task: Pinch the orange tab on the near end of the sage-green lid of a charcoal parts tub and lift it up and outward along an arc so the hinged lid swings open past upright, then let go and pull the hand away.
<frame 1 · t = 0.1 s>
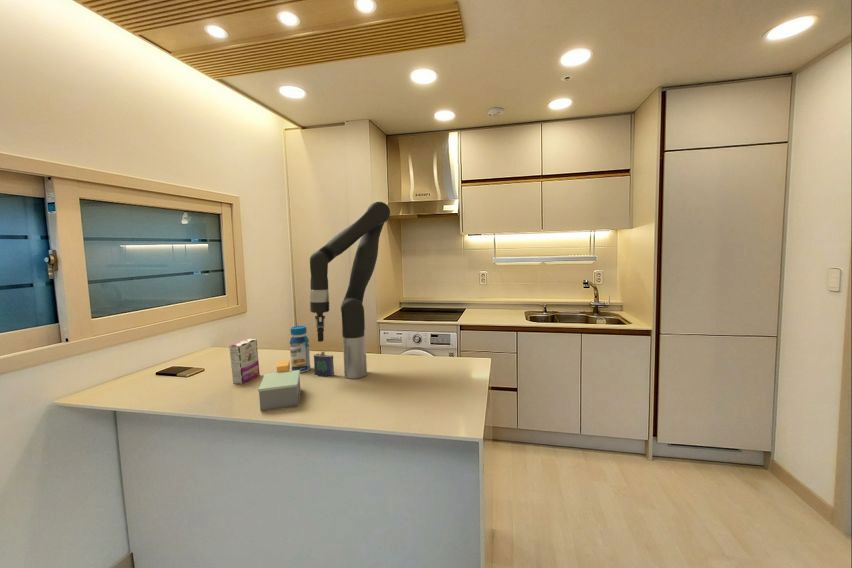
hand: (320, 339, 149), 17 cm above the table, tool pointing down, fingers open, 8 cm apart
candy bar box: (246, 379, 153), on the table
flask: (324, 375, 156), on the table
beverage bottle: (301, 370, 163), on the table
lid: (281, 375, 133), point 8 cm above the table, hinge at 0.0°
tub: (281, 400, 130), on the table
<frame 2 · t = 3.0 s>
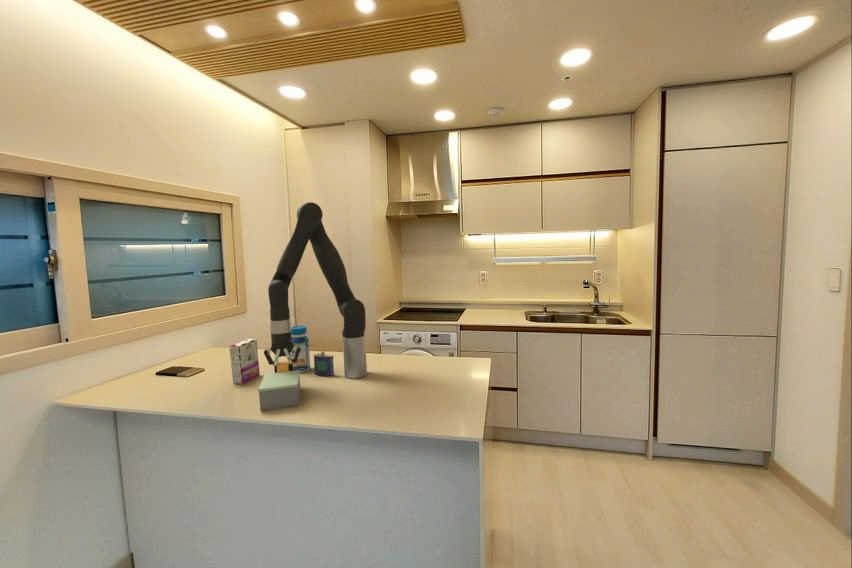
hand: (284, 373, 142), 6 cm above the table, tool pointing down, fingers closed on lid, 4 cm apart
lid: (281, 375, 133), point 8 cm above the table, hinge at 0.0°, touching gripper
everything else where it was.
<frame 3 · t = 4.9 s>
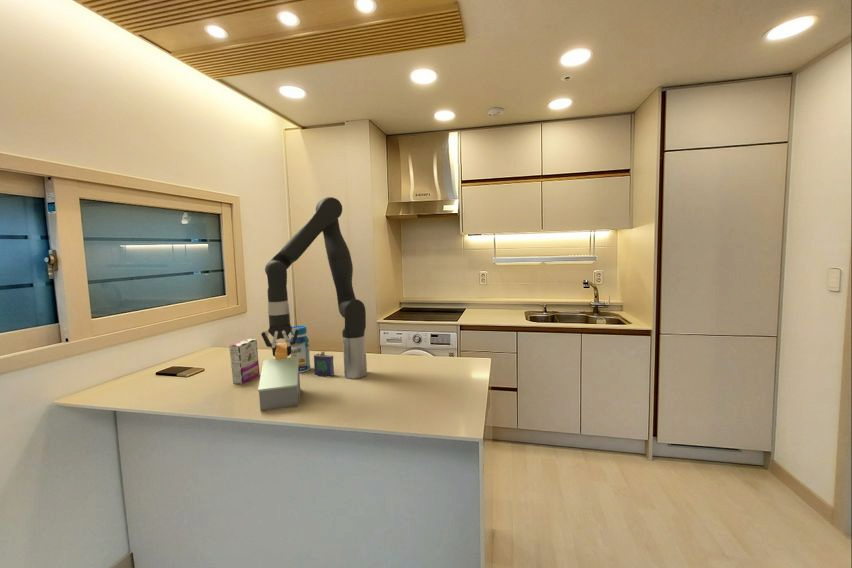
hand: (282, 355, 139), 14 cm above the table, tool pointing down, fingers closed on lid, 4 cm apart
lid: (280, 365, 132), point 12 cm above the table, hinge at 21.0°, touching gripper
everything else where it was.
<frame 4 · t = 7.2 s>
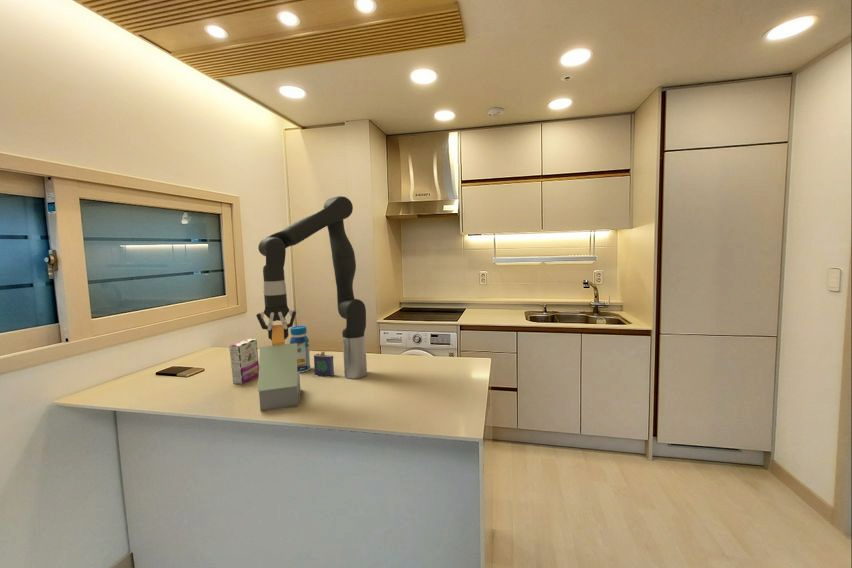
hand: (278, 338, 132), 22 cm above the table, tool pointing down, fingers closed on lid, 4 cm apart
lid: (278, 356, 127), point 17 cm above the table, hinge at 51.3°, touching gripper
everything else where it was.
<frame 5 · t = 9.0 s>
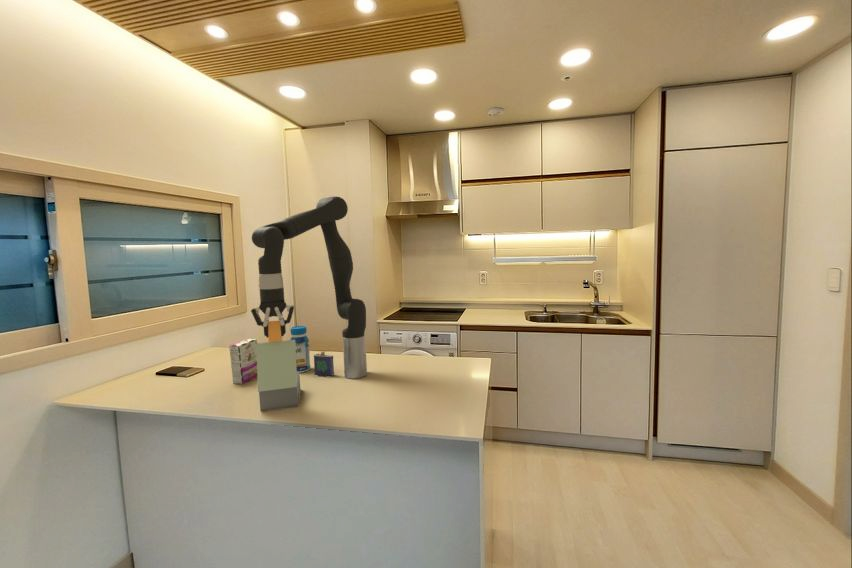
hand: (275, 336, 123), 25 cm above the table, tool pointing down, fingers closed on lid, 4 cm apart
lid: (276, 354, 123), point 19 cm above the table, hinge at 76.5°, touching gripper
everything else where it was.
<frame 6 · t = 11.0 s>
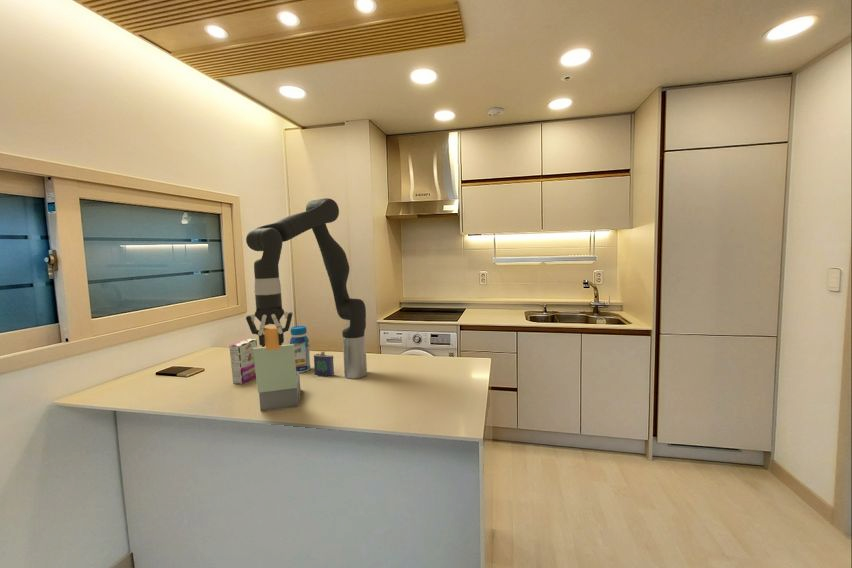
hand: (271, 345, 114), 24 cm above the table, tool pointing down, fingers open, 4 cm apart
lid: (274, 359, 118), point 18 cm above the table, hinge at 100.4°
everything else where it was.
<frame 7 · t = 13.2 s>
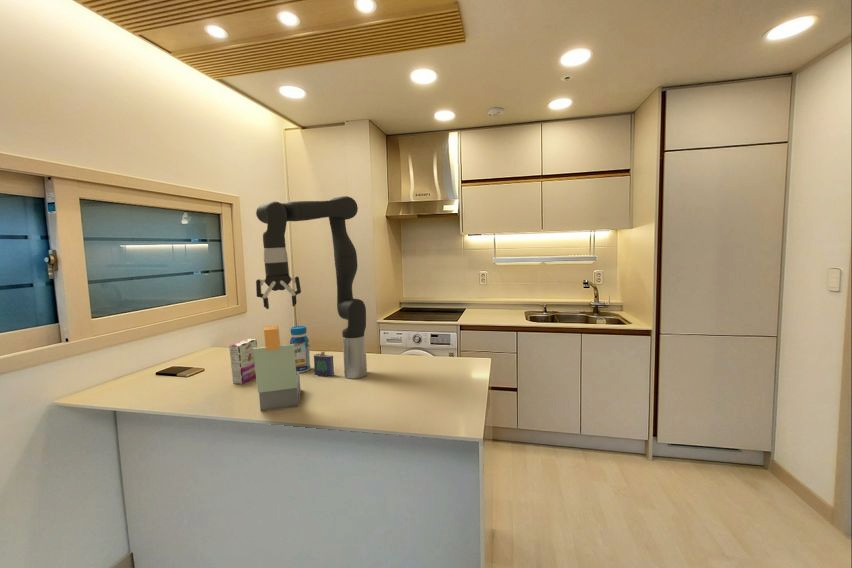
hand: (280, 307, 126), 34 cm above the table, tool pointing down, fingers open, 8 cm apart
nothing on the table moved.
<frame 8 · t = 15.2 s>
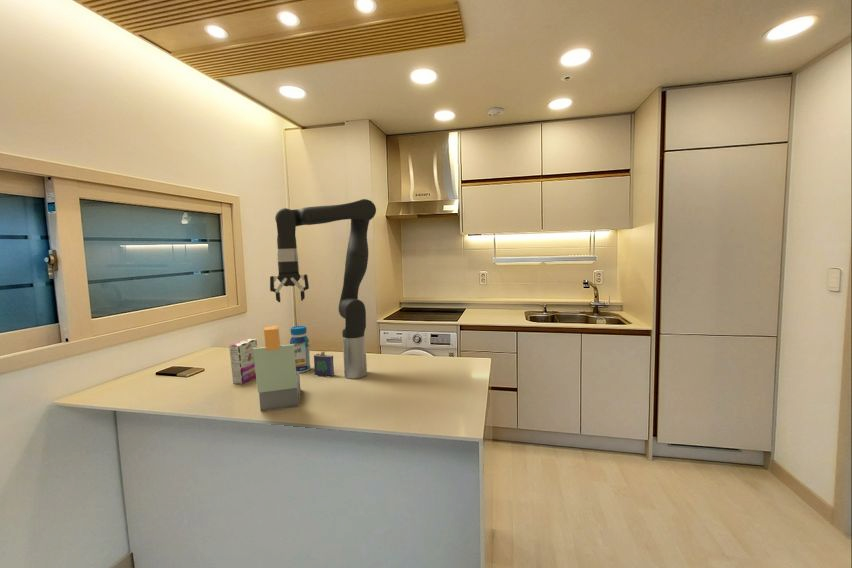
hand: (290, 301, 143), 34 cm above the table, tool pointing down, fingers open, 8 cm apart
nothing on the table moved.
at the end: lid at +100° (first picture: +0°); the gripper is holding nothing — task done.
